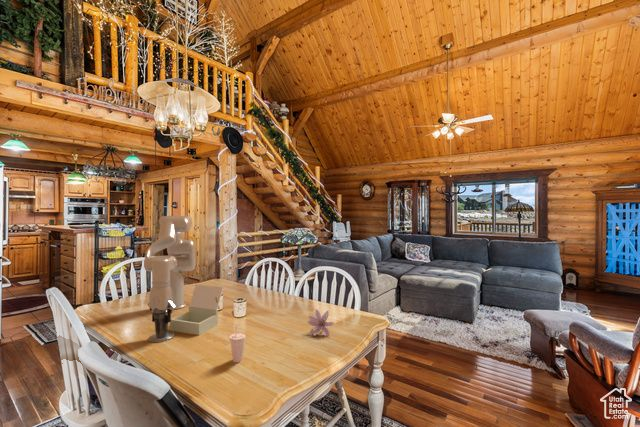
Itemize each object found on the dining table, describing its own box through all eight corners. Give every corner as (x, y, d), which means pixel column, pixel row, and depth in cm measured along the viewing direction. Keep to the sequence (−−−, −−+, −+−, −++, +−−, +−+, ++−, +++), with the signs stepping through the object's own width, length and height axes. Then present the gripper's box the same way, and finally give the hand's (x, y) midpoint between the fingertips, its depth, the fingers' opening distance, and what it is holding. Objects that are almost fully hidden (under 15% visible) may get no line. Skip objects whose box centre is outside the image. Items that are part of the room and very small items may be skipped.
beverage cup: (173, 333, 144) (173, 292, 144) (161, 339, 138) (161, 296, 137) (161, 331, 147) (161, 291, 146) (149, 337, 140) (148, 295, 140)
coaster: (142, 340, 138) (142, 339, 138) (162, 331, 149) (162, 330, 149) (161, 344, 135) (161, 342, 135) (179, 334, 145) (179, 333, 145)
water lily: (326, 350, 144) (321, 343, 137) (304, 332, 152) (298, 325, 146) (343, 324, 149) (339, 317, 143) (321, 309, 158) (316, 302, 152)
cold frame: (170, 330, 150) (169, 293, 150) (196, 317, 168) (196, 284, 168) (199, 335, 145) (198, 296, 145) (223, 321, 163) (223, 286, 162)
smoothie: (231, 356, 123) (231, 322, 123) (247, 355, 124) (246, 322, 124) (227, 364, 117) (227, 328, 117) (244, 363, 117) (244, 328, 117)
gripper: (140, 284, 141) (140, 322, 141) (169, 287, 136) (169, 327, 136) (153, 281, 148) (154, 317, 148) (181, 284, 143) (182, 321, 143)
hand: (161, 321), depth 142 cm, fingers closed on beverage cup, 6 cm apart
